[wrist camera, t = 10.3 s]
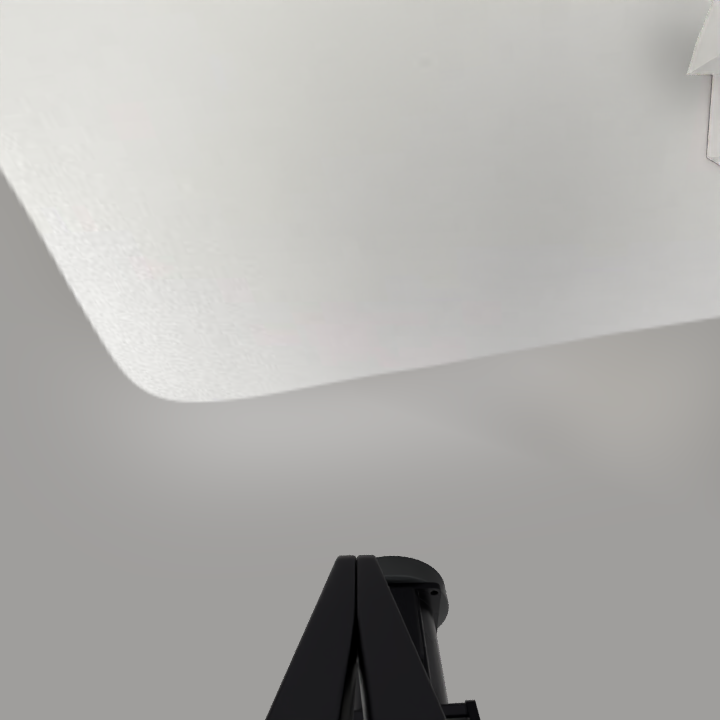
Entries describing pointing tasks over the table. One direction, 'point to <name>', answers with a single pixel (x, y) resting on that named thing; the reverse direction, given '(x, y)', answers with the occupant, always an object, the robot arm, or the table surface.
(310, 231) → the table surface
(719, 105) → the mug
